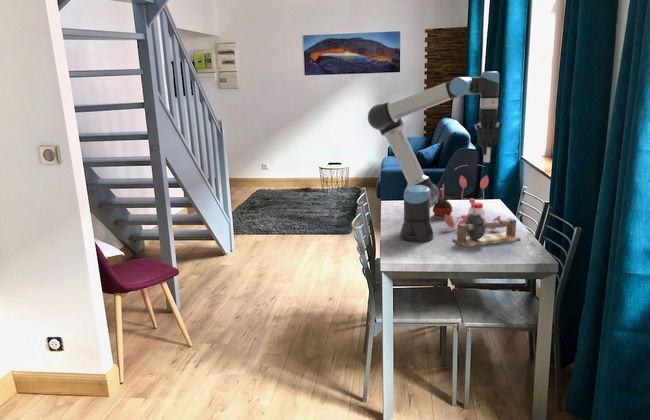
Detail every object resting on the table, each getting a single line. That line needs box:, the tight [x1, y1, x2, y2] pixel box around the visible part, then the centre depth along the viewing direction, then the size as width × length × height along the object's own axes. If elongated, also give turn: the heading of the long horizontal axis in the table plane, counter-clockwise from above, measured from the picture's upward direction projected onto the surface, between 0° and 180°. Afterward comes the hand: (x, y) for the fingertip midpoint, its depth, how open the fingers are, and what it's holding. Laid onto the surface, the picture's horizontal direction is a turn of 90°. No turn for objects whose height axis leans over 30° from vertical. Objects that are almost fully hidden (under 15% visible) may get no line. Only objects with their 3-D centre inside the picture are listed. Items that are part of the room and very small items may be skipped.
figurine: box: [444, 164, 501, 236], centre depth 252 cm, size 15×26×35 cm
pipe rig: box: [452, 217, 521, 248], centre depth 234 cm, size 28×10×9 cm, turn 106°
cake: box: [432, 183, 453, 220], centre depth 274 cm, size 11×9×18 cm
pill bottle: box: [468, 202, 486, 220], centre depth 258 cm, size 8×8×11 cm
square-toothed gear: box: [466, 213, 486, 240], centre depth 232 cm, size 3×11×11 cm, turn 16°
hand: (486, 161), depth 234 cm, fingers closed
